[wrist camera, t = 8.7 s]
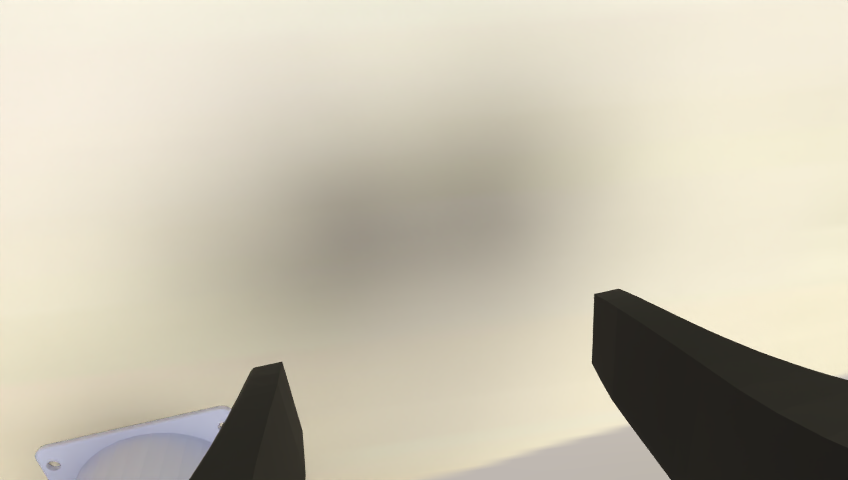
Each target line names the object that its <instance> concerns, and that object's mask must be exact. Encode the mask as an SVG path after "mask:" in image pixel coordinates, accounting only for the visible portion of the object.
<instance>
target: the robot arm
mask: <svg viewBox="0 0 848 480" xmlns="http://www.w3.org/2000/svg"><path fill="white" fill-rule="evenodd" d="M592 364H593V366H594V368H595V370H596V372H597V374H598V376H599V378H600V379H601V381H602V383H603V385H604V387H605V388H606V390H607V392H608V394H609V395H610V397H611V399H612V401H613V402H614V403H615V405H616V406H617V408H618V409H619V410H620V412H621V413H622V414H623V416H624V417H625V419H626V420H627V421H628V423H629V424H630V425H631V427H632V428H633V429H634V431H635V432H636V433H637V435H638V436H639V437H640V439H641V440H642V441H643V443H644V444H645V445H646V447H647V448H648V449H649V451H650V452H651V454H652V455H653V456H654V458H655V459H656V460H657V462H658V463H659V464H660V466H661V467H662V468H663V469H664V471H665V472H666V473H667V475H668V476H669V478H670V479H671V480H848V380H845V379H842V378H838V377H834V376H831V375H827V374H824V373H821V372H817V371H814V370H811V369H807V368H804V367H801V366H799V365H796V364H793V363H790V362H787V361H784V360H781V359H778V358H775V357H772V356H769V355H767V354H764V353H761V352H759V351H756V350H754V349H751V348H749V347H746V346H744V345H741V344H739V343H736V342H734V341H732V340H729V339H727V338H724V337H722V336H720V335H718V334H715V333H713V332H711V331H708V330H706V329H704V328H702V327H700V326H698V325H695V324H693V323H691V322H689V321H687V320H685V319H683V318H681V317H678V316H676V315H674V314H672V313H670V312H668V311H666V310H664V309H662V308H660V307H658V306H656V305H654V304H652V303H649V302H647V301H645V300H643V299H641V298H639V297H637V296H635V295H632V294H630V293H628V292H626V291H623V290H621V289H615V290H611V291H606V292H602V293H597V294H594V319H593V347H592ZM222 422H224V424H223V425H222V427H220V426H219V424H220V423H222ZM35 458H36V460H37V462H38V464H39V465H40V467H41V469H42V470H43V472H44V473H45V475H46V477H47V478H48V480H305V459H304V445H303V432H302V428H301V424H300V421H299V418H298V414H297V411H296V407H295V404H294V400H293V397H292V394H291V390H290V387H289V383H288V380H287V376H286V373H285V370H284V366H283V363H282V362H279V363H274V364H269V365H265V366H260V367H256V368H253V370H252V371H251V372H250V374H249V376H248V378H247V380H246V382H245V384H244V386H243V388H242V390H241V392H240V394H239V396H238V398H237V400H236V402H235V403H234V405H233V407H232V409H230V408H229V407H227V406H216V407H212V408H208V409H203V410H199V411H194V412H190V413H185V414H181V415H176V416H172V417H167V418H163V419H158V420H154V421H149V422H145V423H141V424H136V425H132V426H127V427H123V428H118V429H114V430H109V431H105V432H100V433H96V434H91V435H87V436H82V437H78V438H73V439H69V440H65V441H60V442H56V443H51V444H47V445H44V446H41V447H40V448H39V449H38V450H37V452H36V454H35ZM50 461H55V462H58V463H59V464H60V466H52V465H50V464H49V462H50Z"/></svg>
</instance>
